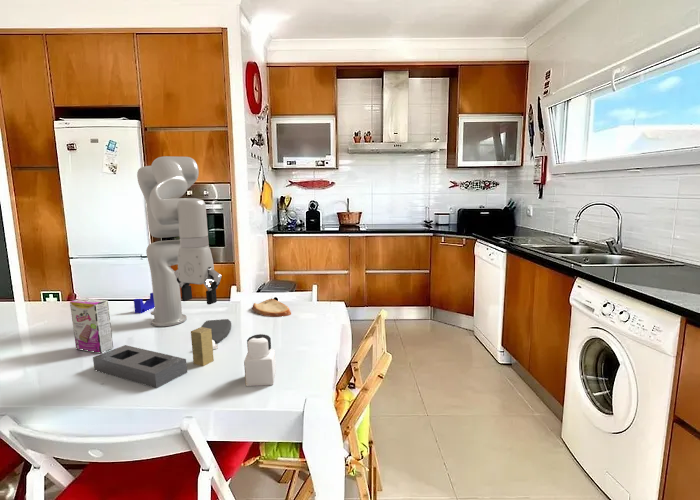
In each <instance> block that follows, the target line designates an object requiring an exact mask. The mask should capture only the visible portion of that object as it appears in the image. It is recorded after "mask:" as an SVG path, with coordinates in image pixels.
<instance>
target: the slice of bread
mask: <svg viewBox="0 0 700 500" xmlns="http://www.w3.org/2000/svg"><path fill="white" fill-rule="evenodd" d="M251 310H252V311H253V312H254V314H255V313H256V314H257V315H259V316H260V315H261V316H264V317H271V318H274V317H275V318H279V317H280V318H281V317H282V316H283V317H288V316H291V315H292V311H291V310H290V308H289V307H288V305H286V304H284V303H282V302H281V301H278V300H276V299H275V298H269V299H266V300H263V301H261V302H259V303H256V302H254V303H253V305H252V307H251Z"/></svg>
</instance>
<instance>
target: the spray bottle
mask: <svg viewBox="0 0 700 500" xmlns="http://www.w3.org/2000/svg"><path fill="white" fill-rule="evenodd" d="M200 327H204V328H210V329H211V332H212V345H213V350H218V343H220V342H222V340H224V339H225V338H227V336H229V334H230V332H231V329H232V321H231V320H230V319H228V318H223V319H211V320H205V322H203V323H202V325H201V326H200Z"/></svg>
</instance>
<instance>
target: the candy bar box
mask: <svg viewBox="0 0 700 500" xmlns="http://www.w3.org/2000/svg"><path fill="white" fill-rule="evenodd" d="M69 307H70V313H71V314H70V315H71V319H72V329H73V335H74V342H75V349H76V348H77V349H83V350H88V351H94V352H93V353H95V352H100V353H99V354H102V353H101V352H104V351H106V352H108V351H110V350H113V349H114V342H113V333H112V325H111V317H110V308H109V300H105V299H96V298H95V299H93V298H87V297H81V298H78V299H75V300H71V301H70V302H69ZM112 348H113V349H112ZM109 349H110V350H109ZM107 350H108V351H107ZM88 351H87V352H88ZM104 353H105V352H104Z"/></svg>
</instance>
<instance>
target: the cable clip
mask: <svg viewBox="0 0 700 500" xmlns="http://www.w3.org/2000/svg"><path fill="white" fill-rule="evenodd" d="M133 307H134V313H135V314H143V313H146V312H148V311H150V310H152V309H155V308H154V297H153V292H150V293H149V299H147V300H145V302H144V300H143V298H135V299H133ZM149 309H150V310H149ZM147 310H148V311H147ZM145 311H146V312H145Z"/></svg>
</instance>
